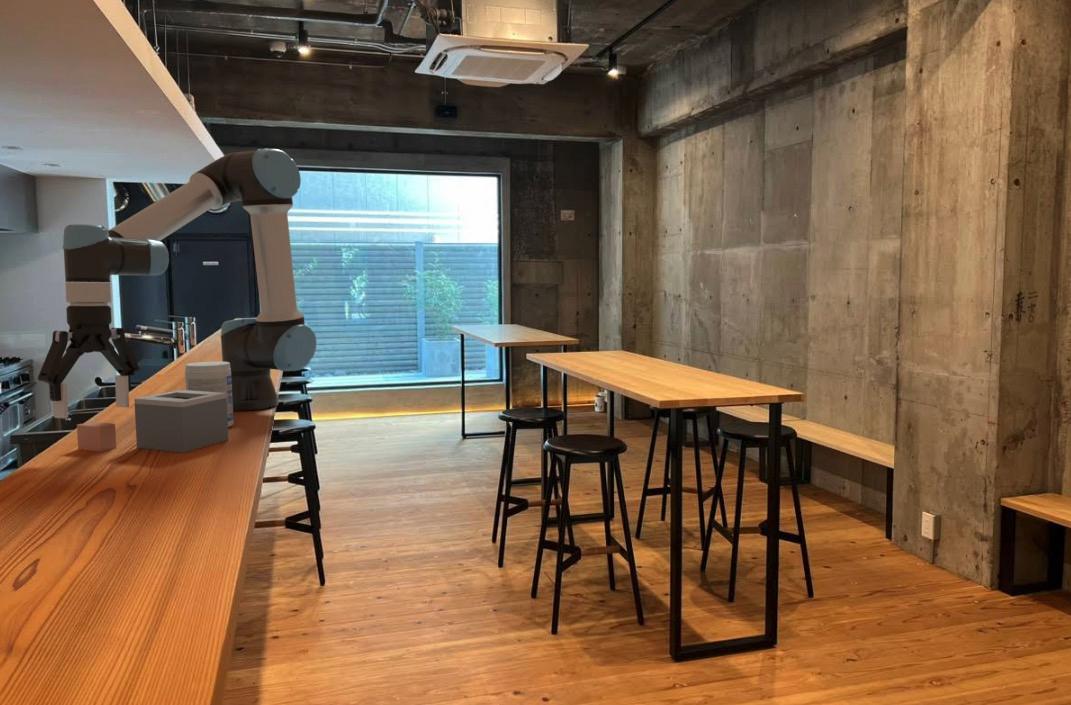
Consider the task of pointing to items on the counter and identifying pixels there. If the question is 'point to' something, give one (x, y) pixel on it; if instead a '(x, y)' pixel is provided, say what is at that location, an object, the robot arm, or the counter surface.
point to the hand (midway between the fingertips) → (93, 412)
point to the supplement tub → (211, 380)
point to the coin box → (181, 420)
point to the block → (96, 436)
